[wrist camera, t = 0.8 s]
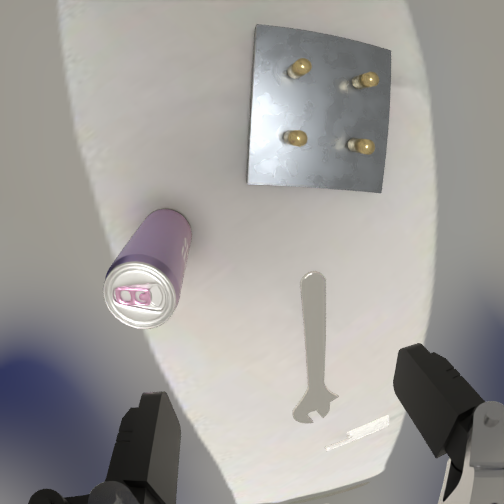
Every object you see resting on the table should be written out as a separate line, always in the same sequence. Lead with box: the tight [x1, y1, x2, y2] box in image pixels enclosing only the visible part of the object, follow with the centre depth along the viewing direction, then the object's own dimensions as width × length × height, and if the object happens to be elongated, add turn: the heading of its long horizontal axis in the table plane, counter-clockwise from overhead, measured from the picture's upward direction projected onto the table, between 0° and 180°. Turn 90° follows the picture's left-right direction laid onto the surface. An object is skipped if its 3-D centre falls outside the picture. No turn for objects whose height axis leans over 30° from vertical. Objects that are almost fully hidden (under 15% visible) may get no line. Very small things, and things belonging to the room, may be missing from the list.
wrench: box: [292, 271, 339, 423], centre depth 45 cm, size 8×32×1 cm, turn 8°
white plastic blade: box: [325, 415, 389, 451], centre depth 55 cm, size 5×15×1 cm, turn 109°
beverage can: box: [103, 209, 192, 329], centre depth 28 cm, size 6×6×15 cm
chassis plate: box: [247, 24, 391, 193], centre depth 29 cm, size 18×16×5 cm
